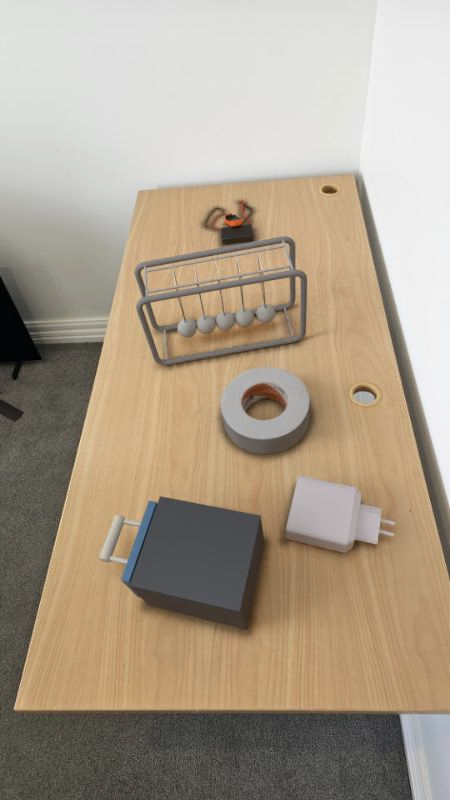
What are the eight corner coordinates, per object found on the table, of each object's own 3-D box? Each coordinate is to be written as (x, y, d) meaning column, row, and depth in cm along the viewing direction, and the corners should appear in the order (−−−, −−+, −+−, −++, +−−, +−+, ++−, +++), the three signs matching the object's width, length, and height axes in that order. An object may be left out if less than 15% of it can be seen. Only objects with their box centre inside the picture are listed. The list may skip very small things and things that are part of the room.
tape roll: (207, 410, 91) (203, 393, 87) (275, 369, 95) (274, 352, 91) (255, 470, 83) (253, 456, 79) (327, 424, 87) (329, 408, 82)
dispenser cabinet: (148, 605, 72) (129, 585, 64) (174, 524, 79) (159, 495, 71) (246, 630, 69) (239, 611, 60) (264, 542, 76) (260, 515, 67)
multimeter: (207, 202, 130) (205, 190, 127) (253, 198, 128) (252, 186, 125) (203, 246, 119) (200, 234, 116) (253, 243, 118) (252, 230, 115)
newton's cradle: (294, 305, 104) (294, 232, 90) (306, 341, 98) (308, 270, 84) (153, 330, 105) (131, 262, 90) (156, 368, 99) (132, 302, 84)
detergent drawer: (106, 589, 73) (86, 571, 66) (132, 517, 80) (116, 494, 73) (227, 619, 69) (219, 603, 62) (245, 540, 75) (240, 518, 68)
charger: (388, 565, 72) (285, 540, 76) (394, 507, 77) (298, 486, 80) (393, 554, 68) (285, 528, 72) (400, 493, 73) (298, 472, 77)
